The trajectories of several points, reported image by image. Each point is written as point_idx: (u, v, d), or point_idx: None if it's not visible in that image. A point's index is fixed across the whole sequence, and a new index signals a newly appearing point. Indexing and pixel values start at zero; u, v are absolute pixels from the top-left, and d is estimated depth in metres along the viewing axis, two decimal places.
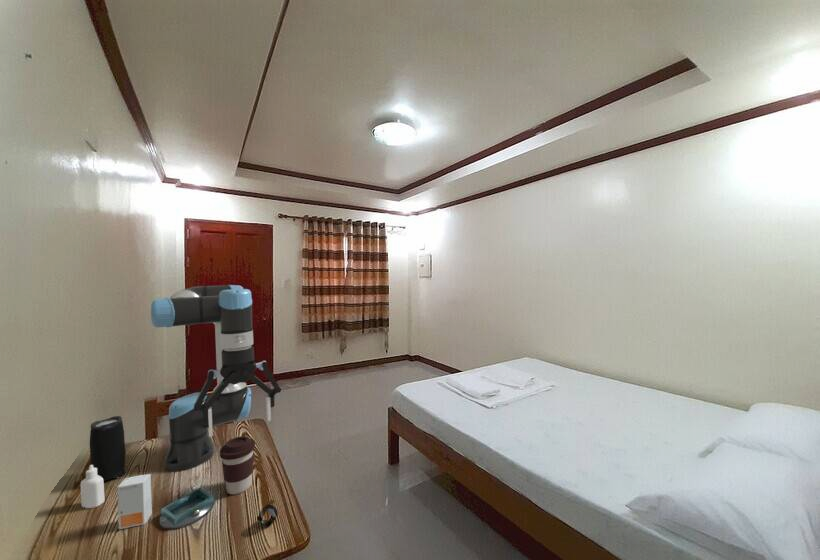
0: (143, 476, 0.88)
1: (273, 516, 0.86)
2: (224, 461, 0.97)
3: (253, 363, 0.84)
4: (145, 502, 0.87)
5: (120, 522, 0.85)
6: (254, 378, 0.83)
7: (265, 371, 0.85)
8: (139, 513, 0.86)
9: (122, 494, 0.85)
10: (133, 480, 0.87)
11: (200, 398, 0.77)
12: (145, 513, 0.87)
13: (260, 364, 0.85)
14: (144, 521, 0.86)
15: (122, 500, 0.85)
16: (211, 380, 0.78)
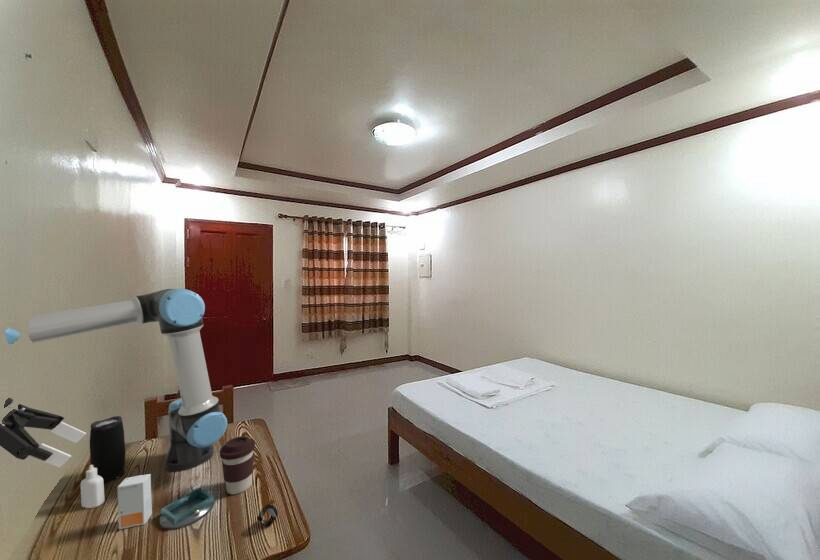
0: (143, 476, 0.88)
1: (273, 516, 0.86)
2: (224, 461, 0.97)
3: None
4: (145, 502, 0.87)
5: (120, 522, 0.85)
6: None
7: None
8: (139, 513, 0.86)
9: (122, 494, 0.85)
10: (133, 480, 0.87)
11: None
12: (145, 513, 0.87)
13: None
14: (144, 521, 0.86)
15: (122, 500, 0.85)
16: None
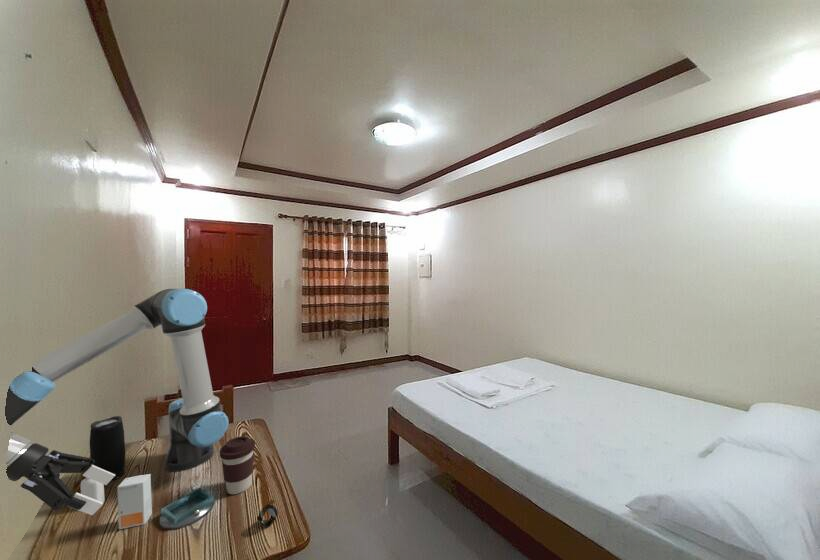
0: (143, 476, 0.88)
1: (273, 516, 0.86)
2: (224, 461, 0.97)
3: (26, 477, 0.73)
4: (145, 502, 0.87)
5: (120, 522, 0.85)
6: None
7: None
8: (139, 513, 0.86)
9: (122, 494, 0.85)
10: (133, 480, 0.87)
11: None
12: (145, 513, 0.87)
13: None
14: (144, 521, 0.86)
15: (122, 500, 0.85)
16: None
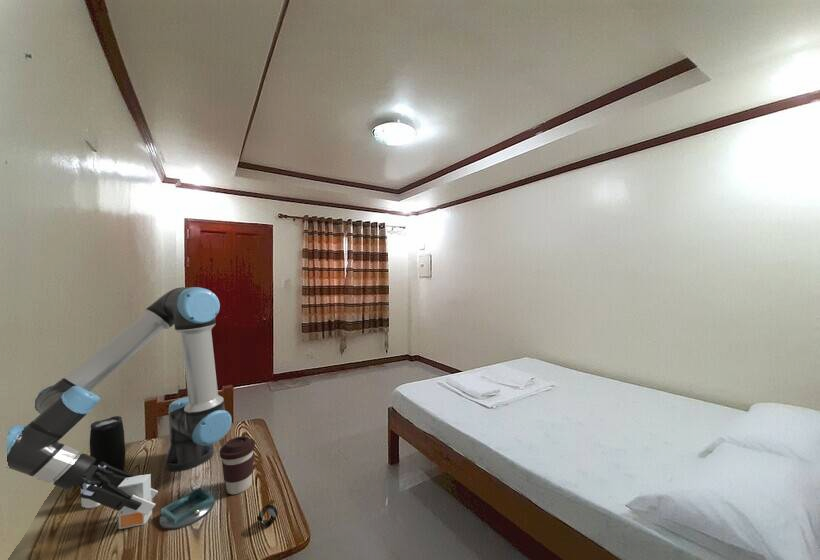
0: (143, 476, 0.88)
1: (273, 516, 0.86)
2: (224, 461, 0.97)
3: None
4: None
5: (120, 522, 0.85)
6: None
7: None
8: (139, 513, 0.86)
9: None
10: (133, 480, 0.87)
11: None
12: None
13: None
14: (144, 521, 0.86)
15: None
16: None
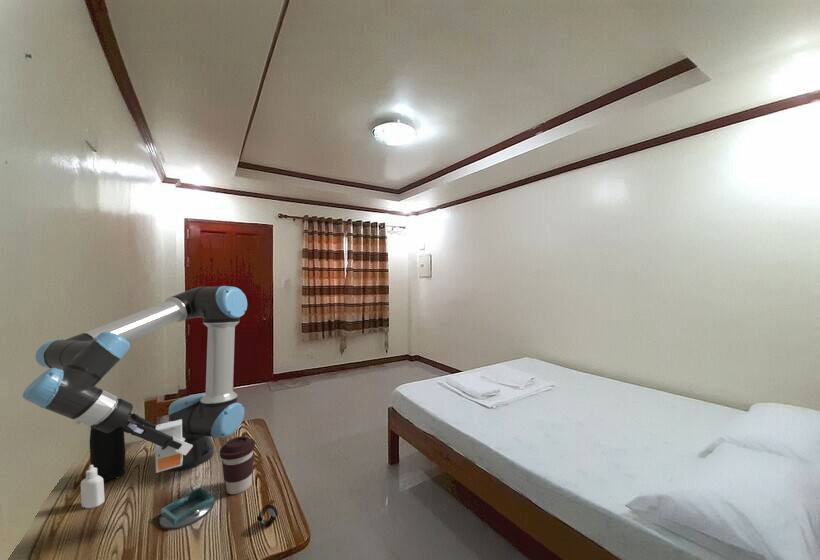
0: (176, 421, 0.90)
1: (273, 516, 0.86)
2: (224, 461, 0.97)
3: (124, 428, 0.78)
4: None
5: (157, 465, 0.86)
6: None
7: None
8: (177, 455, 0.88)
9: None
10: (168, 424, 0.88)
11: None
12: (182, 455, 0.89)
13: (133, 429, 0.79)
14: (181, 462, 0.89)
15: None
16: None
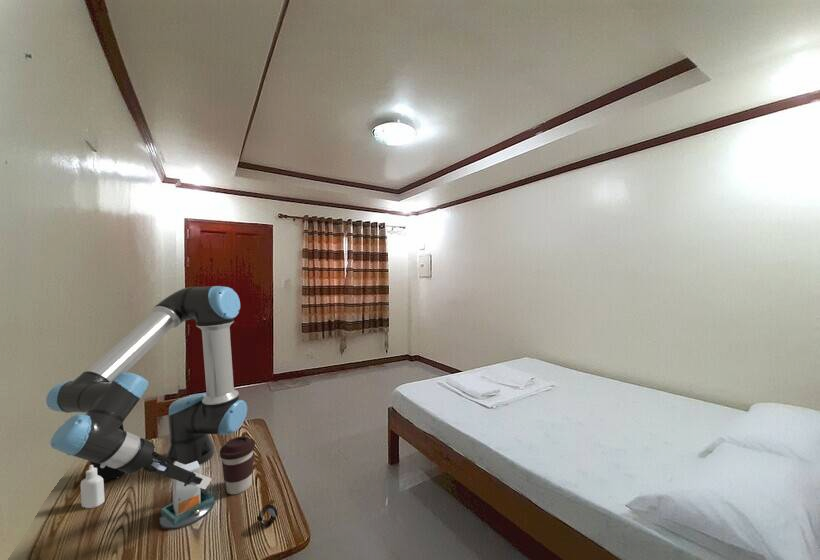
0: (192, 463, 0.92)
1: (273, 516, 0.86)
2: (224, 461, 0.97)
3: (148, 467, 0.80)
4: None
5: (178, 509, 0.87)
6: None
7: (162, 474, 0.81)
8: (196, 496, 0.90)
9: (180, 482, 0.87)
10: (186, 468, 0.90)
11: None
12: (199, 496, 0.92)
13: (156, 467, 0.80)
14: None
15: (180, 487, 0.88)
16: None
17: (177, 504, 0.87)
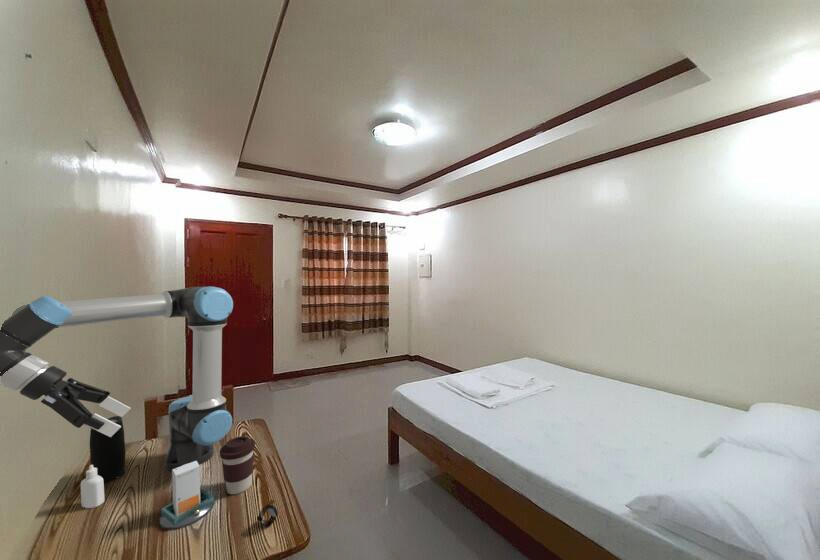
0: (192, 463, 0.92)
1: (273, 516, 0.86)
2: (224, 461, 0.97)
3: (46, 396, 0.74)
4: (199, 485, 0.92)
5: (177, 509, 0.87)
6: None
7: None
8: (196, 496, 0.91)
9: (180, 481, 0.88)
10: (185, 467, 0.90)
11: None
12: (199, 496, 0.92)
13: None
14: None
15: (180, 487, 0.88)
16: None
17: (177, 504, 0.87)
